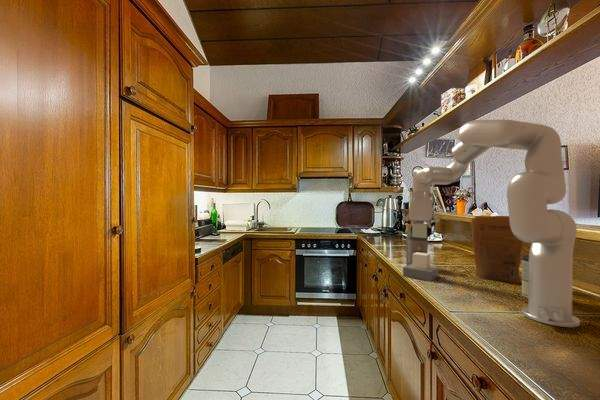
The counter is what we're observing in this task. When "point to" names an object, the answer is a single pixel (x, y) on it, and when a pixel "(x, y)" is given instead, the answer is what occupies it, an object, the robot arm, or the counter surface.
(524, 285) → the coffee can
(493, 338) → the counter surface
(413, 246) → the liquor
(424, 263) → the cream block
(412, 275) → the pedestal
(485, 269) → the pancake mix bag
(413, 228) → the sage block
